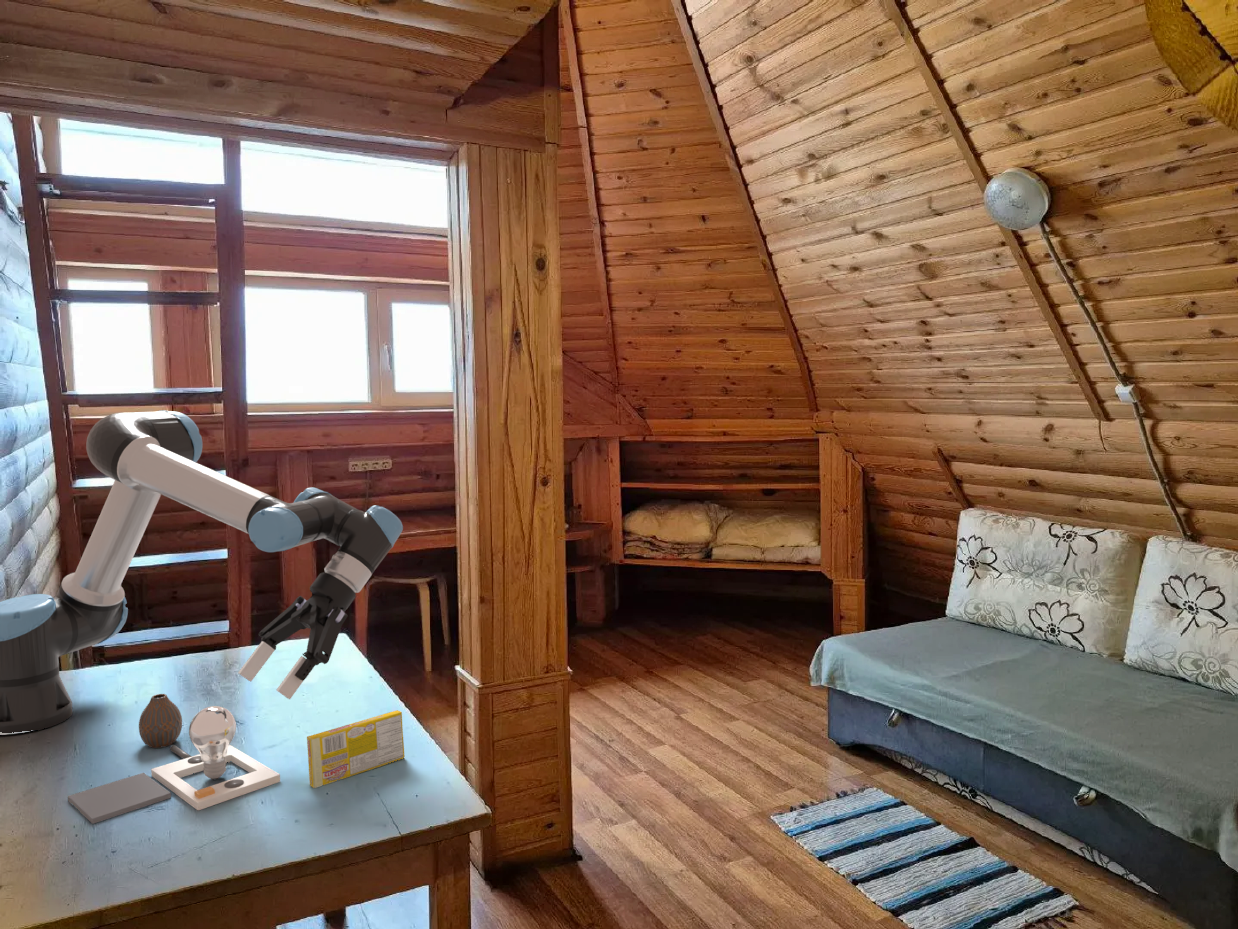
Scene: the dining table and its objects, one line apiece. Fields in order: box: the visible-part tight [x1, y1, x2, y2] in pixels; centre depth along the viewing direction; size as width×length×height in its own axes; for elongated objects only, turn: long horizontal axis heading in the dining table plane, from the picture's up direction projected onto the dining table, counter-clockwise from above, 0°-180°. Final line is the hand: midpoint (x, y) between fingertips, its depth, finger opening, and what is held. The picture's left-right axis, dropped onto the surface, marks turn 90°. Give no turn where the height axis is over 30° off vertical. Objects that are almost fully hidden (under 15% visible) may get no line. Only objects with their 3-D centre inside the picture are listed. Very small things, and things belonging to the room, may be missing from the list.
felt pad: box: [67, 772, 172, 825], centre depth 138 cm, size 11×11×1 cm
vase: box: [138, 693, 183, 749], centre depth 159 cm, size 7×7×9 cm
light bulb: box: [188, 705, 237, 781], centre depth 144 cm, size 7×7×12 cm
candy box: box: [306, 710, 406, 789], centre depth 147 cm, size 16×2×8 cm, turn 133°
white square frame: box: [150, 744, 281, 811], centre depth 147 cm, size 26×13×2 cm, turn 48°
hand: (262, 686), depth 150 cm, fingers open, 13 cm apart
